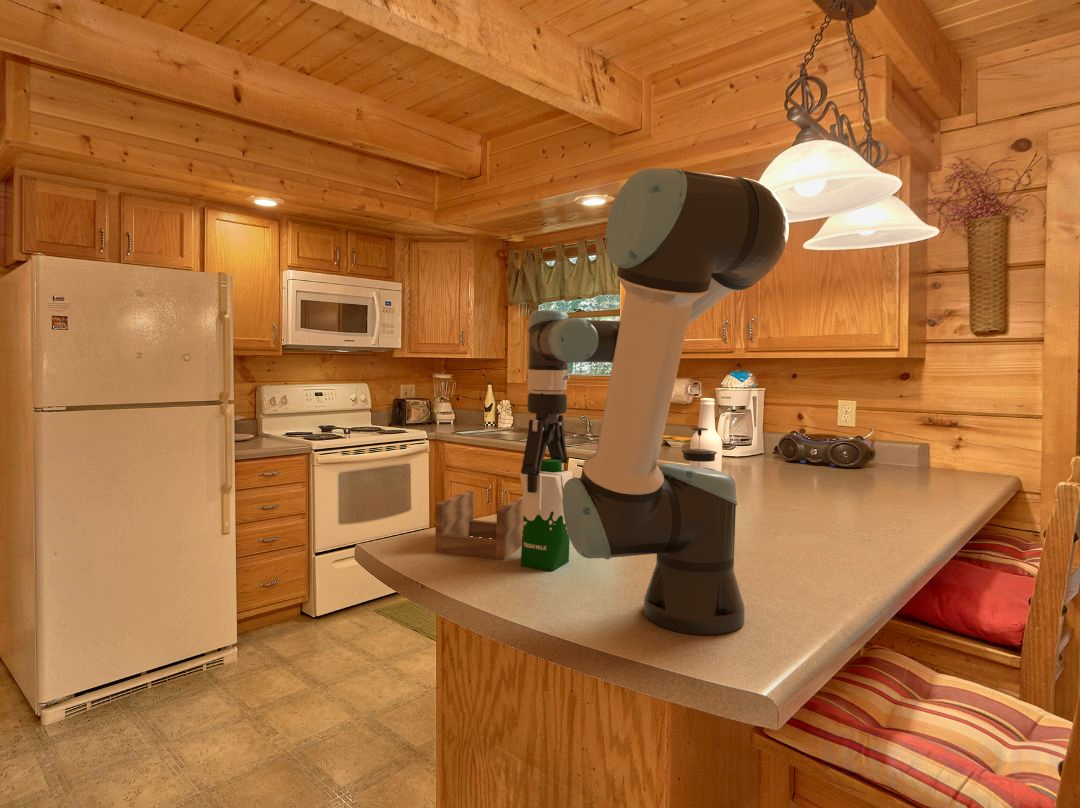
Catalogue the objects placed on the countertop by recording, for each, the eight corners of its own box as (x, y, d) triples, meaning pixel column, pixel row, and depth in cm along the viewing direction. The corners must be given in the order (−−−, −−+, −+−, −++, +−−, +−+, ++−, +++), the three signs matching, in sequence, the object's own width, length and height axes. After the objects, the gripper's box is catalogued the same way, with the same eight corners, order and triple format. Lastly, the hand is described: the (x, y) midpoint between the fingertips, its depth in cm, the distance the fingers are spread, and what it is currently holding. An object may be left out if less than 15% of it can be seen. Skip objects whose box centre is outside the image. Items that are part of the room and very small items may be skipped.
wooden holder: (503, 559, 130) (503, 509, 129) (435, 551, 135) (435, 503, 134) (529, 541, 144) (529, 495, 144) (466, 534, 149) (467, 490, 148)
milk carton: (575, 561, 130) (576, 460, 129) (554, 573, 122) (556, 466, 121) (535, 554, 134) (537, 457, 133) (513, 566, 126) (514, 462, 125)
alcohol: (715, 509, 180) (718, 399, 178) (684, 505, 185) (687, 398, 183) (724, 503, 187) (727, 398, 186) (694, 500, 192) (697, 397, 190)
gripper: (545, 396, 113) (542, 518, 114) (583, 390, 136) (581, 491, 138) (504, 394, 115) (502, 514, 117) (549, 389, 139) (547, 488, 140)
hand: (545, 502), depth 127 cm, fingers open, 13 cm apart
